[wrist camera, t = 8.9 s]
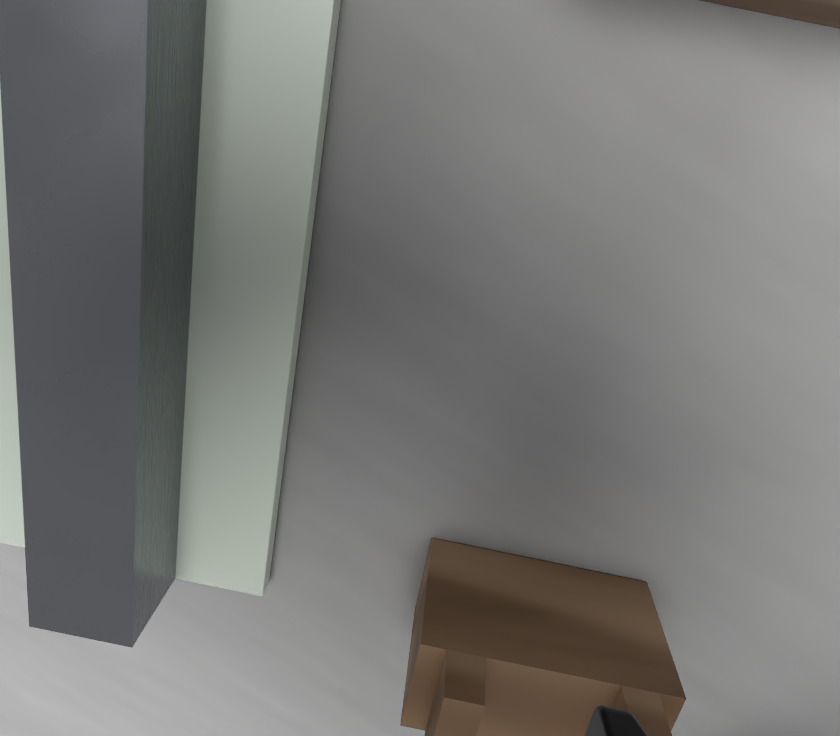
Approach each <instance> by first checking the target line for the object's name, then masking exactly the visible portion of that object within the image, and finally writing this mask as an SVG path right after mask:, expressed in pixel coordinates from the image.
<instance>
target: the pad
mask: <svg viewBox="0 0 840 736" xmlns="http://www.w3.org/2000/svg"><path fill="white" fill-rule="evenodd" d="M340 5H341V0H207V6H206V24H205V43H204V61H203V79H202V98H201V116H200V135H199V153H198V171H197V190H196V208H195V227H194V245H193V263H192V282H191V300H190V319H189V337H188V356H187V374H186V392H185V411H184V429H183V448H182V466H181V484H180V503H179V521H178V540H177V558H176V577H175V579H180V580H184V581H189V582H194V583H199V584H204V585H209V586H214V587H219V588H223V589H228V590H233V591H238V592H243V593H248V594H253V595H258V596H263V594H264V592H265V589H266V587H267V585H268V582H269V579H270V571H271V563H272V555H273V547H274V539H275V531H276V523H277V515H278V507H279V499H280V490H281V482H282V474H283V466H284V458H285V450H286V442H287V434H288V426H289V418H290V409H291V401H292V393H293V385H294V377H295V369H296V361H297V353H298V345H299V337H300V329H301V320H302V312H303V304H304V296H305V288H306V280H307V272H308V264H309V256H310V248H311V239H312V231H313V223H314V215H315V207H316V199H317V191H318V183H319V175H320V167H321V159H322V150H323V142H324V134H325V126H326V118H327V110H328V102H329V94H330V86H331V78H332V69H333V61H334V53H335V45H336V37H337V29H338V21H339V13H340ZM0 543H4V544H9V545H14V546H19V547H24V548H25V536H24V518H23V499H22V480H21V462H20V443H19V425H18V406H17V387H16V369H15V350H14V332H13V313H12V294H11V276H10V257H9V238H8V220H7V201H6V183H5V164H4V145H3V127H2V108H1V90H0Z"/></svg>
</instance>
